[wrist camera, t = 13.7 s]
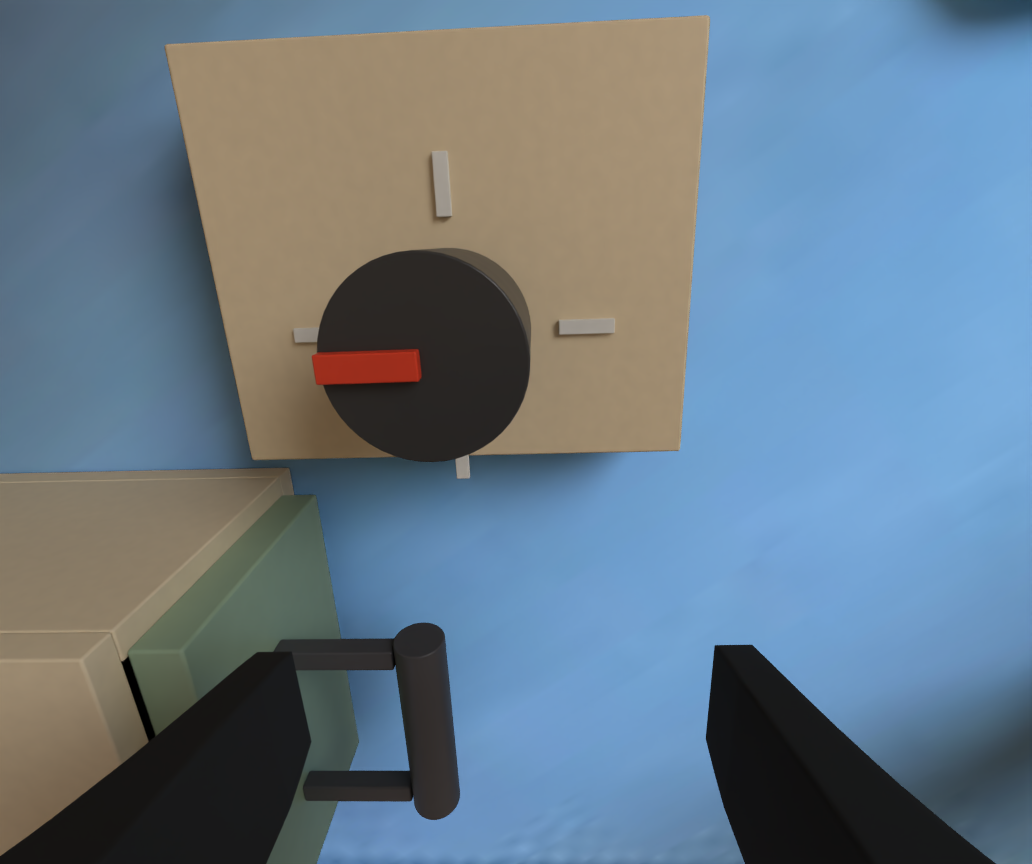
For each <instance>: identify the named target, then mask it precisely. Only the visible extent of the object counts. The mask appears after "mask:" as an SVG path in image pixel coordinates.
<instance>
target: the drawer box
mask: <svg viewBox="0 0 1032 864" xmlns="http://www.w3.org/2000/svg"><path fill="white" fill-rule="evenodd" d="M283 495H294V490H293V485H292V480H291V475H290V469H289V468H250V469H203V470H155V471H108V472H60V473H13V474H0V856H1V855H2V854H4V853H5V852H6V851H8V850H9V849H11V848H12V847H13V846H15V845H16V844H18V843H19V842H20V841H22V840H23V839H24V838H26V837H27V836H29V835H30V834H31V833H33V832H34V831H35V830H37V829H38V828H39V827H41V826H42V825H43V824H45V823H46V822H47V821H49V820H50V819H52V818H53V817H54V816H55V815H57V814H58V813H59V812H61V811H62V810H63V809H64V808H66V807H67V806H68V805H70V804H71V803H72V802H73V801H75V800H76V799H77V798H79V797H80V796H81V795H82V794H84V793H85V792H86V791H87V790H89V789H90V788H91V787H93V786H94V785H95V784H96V783H98V782H99V781H100V780H102V779H103V778H104V777H105V776H107V775H108V774H109V773H111V772H112V771H113V770H114V769H116V768H117V767H118V766H120V765H121V764H122V763H123V762H125V761H126V760H127V759H129V758H130V757H131V756H132V755H133V754H135V753H136V752H137V751H138V750H140V749H141V748H142V747H143V746H144V745H146V744H147V743H148V742H149V741H148V738H147V735H146V732H145V729H144V726H143V724H142V721H141V718H140V715H139V712H138V709H137V706H136V703H135V700H134V697H133V695H132V692H131V689H130V686H129V683H128V680H127V677H126V674H125V671H124V669H123V666H122V663H121V661H124V660H125V659H126V658H127V657H128V651H129V649H130V648H131V647H132V646H133V645H134V644H135V643H136V642H137V641H138V640H139V639H140V638H141V637H142V636H143V635H144V634H145V633H146V632H147V631H148V630H149V629H150V628H151V627H152V626H153V625H154V624H155V623H156V622H157V621H158V620H159V619H160V618H161V617H162V616H163V615H164V614H165V613H166V612H167V611H168V610H169V609H170V608H171V607H172V606H173V605H174V604H175V603H176V602H177V601H178V600H179V599H180V598H181V597H182V596H183V595H184V594H185V593H186V592H187V591H188V590H189V589H190V588H191V587H192V586H193V585H194V584H195V583H196V582H197V580H198V579H199V578H200V577H201V576H202V575H203V574H204V573H205V572H206V571H207V570H208V569H209V568H210V567H211V566H212V565H213V564H214V563H215V562H216V561H217V560H218V559H219V558H220V557H221V556H222V555H223V554H224V553H225V552H226V551H227V550H228V549H229V548H230V547H231V546H232V545H233V544H234V543H235V542H236V541H237V540H238V539H239V538H240V537H241V536H242V535H243V534H244V533H245V532H246V531H247V530H248V529H249V528H250V527H251V526H252V525H253V524H254V523H255V522H256V521H257V520H258V519H259V518H260V517H261V516H262V515H263V514H264V513H265V512H266V511H267V510H268V509H269V508H270V507H271V506H272V505H273V504H274V503H275V502H276V501H277V500H278V499H279V498H280V497H281V496H283Z"/></svg>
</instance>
